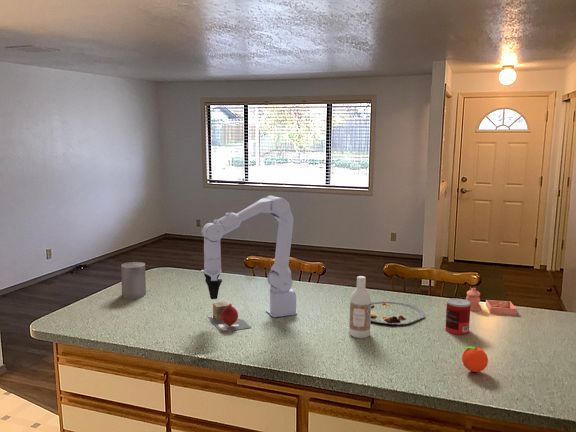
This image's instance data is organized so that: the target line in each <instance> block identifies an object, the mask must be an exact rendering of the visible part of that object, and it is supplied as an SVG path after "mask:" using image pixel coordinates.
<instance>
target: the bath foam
mask: <svg viewBox="0 0 576 432" xmlns="http://www.w3.org/2000/svg"><path fill="white" fill-rule="evenodd" d="M366 282H367V278H366V276H363V275H359V276H356V288H355V289H354V290H353V292H352V293H351V296H350V299H349V327H348V328H349V331H348V332H349V335H350V336H351V337H353V338H357V339H365V338H369V336H370V335H371V311H372V309H371V306H372V305H371V303H372V298H371V294H370V293H369V291H368V289H367V288H366Z"/></svg>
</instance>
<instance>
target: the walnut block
mask: <svg viewBox="0 0 576 432" xmlns="http://www.w3.org/2000/svg"><path fill="white" fill-rule="evenodd" d="M229 304H230V303H228V302H227V301H220V302H213V303H212V315H213V317H214V318H215V319H216V320H222V318H221V315H222V311H223V310H224V309H225V308H226V307H227V306H228V305H229Z"/></svg>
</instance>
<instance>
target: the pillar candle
mask: <svg viewBox="0 0 576 432" xmlns="http://www.w3.org/2000/svg"><path fill="white" fill-rule="evenodd" d="M120 268H121V269H120V270H121V271H120V272H121V273H120V275H121V277H120V278H121V297H122V298H124V299H127V298H129V299H131V298H133V299H138V298H143V297H145V296H146V295H147V284H146V282H147V281H146V279H147V278H146V263H145V262H139V261H131V262H130V261H129V262H124V263H122V264H121V266H120Z"/></svg>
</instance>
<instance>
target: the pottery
mask: <svg viewBox="0 0 576 432" xmlns="http://www.w3.org/2000/svg"><path fill="white" fill-rule="evenodd" d="M480 296H481V292H479V291H478V290H477V288H476V287H471V289H470V290H468V291H466V297H465V300H467V301H469V302H470V312H479V311H482V306H481V305H480V304H479V303H480V302H481V298H480ZM485 306H486V308H487V310H488V311H489V313H490V314H492V315H508V316H517V307H516V306H515V305H514V304H513V303H512V301H508V300H493V299H492V300H491V299H485Z"/></svg>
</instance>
